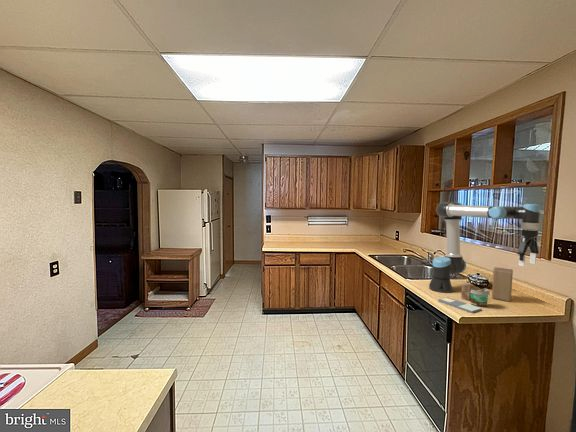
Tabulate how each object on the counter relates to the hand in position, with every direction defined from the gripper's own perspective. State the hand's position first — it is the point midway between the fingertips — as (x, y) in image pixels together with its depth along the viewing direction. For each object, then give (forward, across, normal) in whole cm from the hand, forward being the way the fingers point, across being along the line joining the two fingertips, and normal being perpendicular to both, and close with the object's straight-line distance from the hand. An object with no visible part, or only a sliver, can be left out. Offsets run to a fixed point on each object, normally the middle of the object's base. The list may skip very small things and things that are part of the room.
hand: (527, 264), depth 168 cm
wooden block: (+28, +8, +16) cm, 33 cm away
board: (+28, -31, +21) cm, 46 cm away
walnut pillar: (+28, -14, +25) cm, 40 cm away
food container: (+28, -19, +14) cm, 36 cm away
